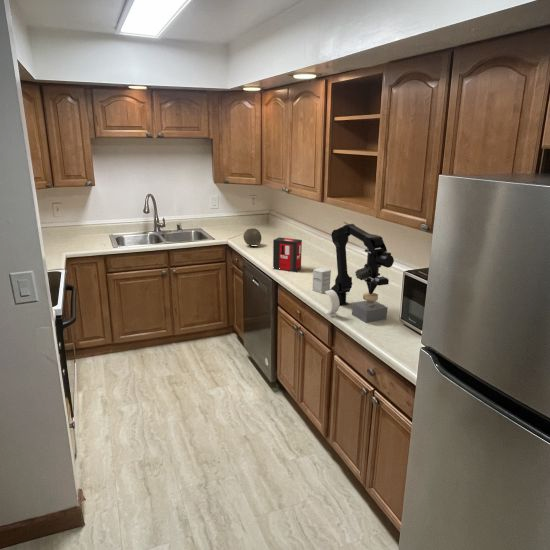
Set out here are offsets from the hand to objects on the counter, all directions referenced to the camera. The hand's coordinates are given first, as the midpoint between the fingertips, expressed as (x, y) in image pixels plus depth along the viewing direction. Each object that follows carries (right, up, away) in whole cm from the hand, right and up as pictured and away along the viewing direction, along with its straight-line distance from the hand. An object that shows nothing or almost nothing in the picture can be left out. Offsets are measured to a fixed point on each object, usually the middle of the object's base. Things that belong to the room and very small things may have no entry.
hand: (370, 293), depth 216 cm
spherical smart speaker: (-64, +32, +145) cm, 162 cm away
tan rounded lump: (0, -6, +2) cm, 7 cm away
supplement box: (-20, 0, +41) cm, 46 cm away
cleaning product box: (-38, +13, +84) cm, 93 cm away
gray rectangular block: (0, -11, +3) cm, 12 cm away
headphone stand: (-18, -11, +5) cm, 22 cm away
